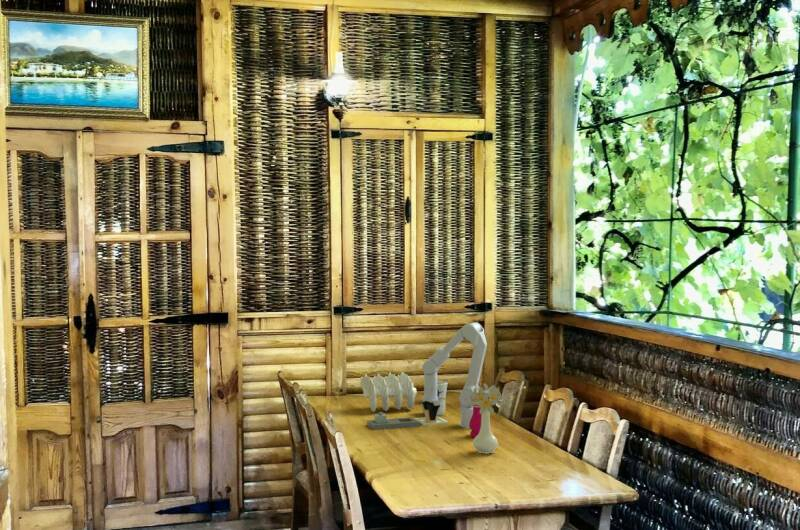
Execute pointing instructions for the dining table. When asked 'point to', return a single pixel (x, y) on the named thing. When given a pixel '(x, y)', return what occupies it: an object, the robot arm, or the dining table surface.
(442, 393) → the mug
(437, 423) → the tray
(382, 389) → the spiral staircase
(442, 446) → the dining table surface
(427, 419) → the orange plug
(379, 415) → the seated twin plug
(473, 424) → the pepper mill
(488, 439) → the flower vase
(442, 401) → the teacup
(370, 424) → the grey socket board
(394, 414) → the dining table surface
